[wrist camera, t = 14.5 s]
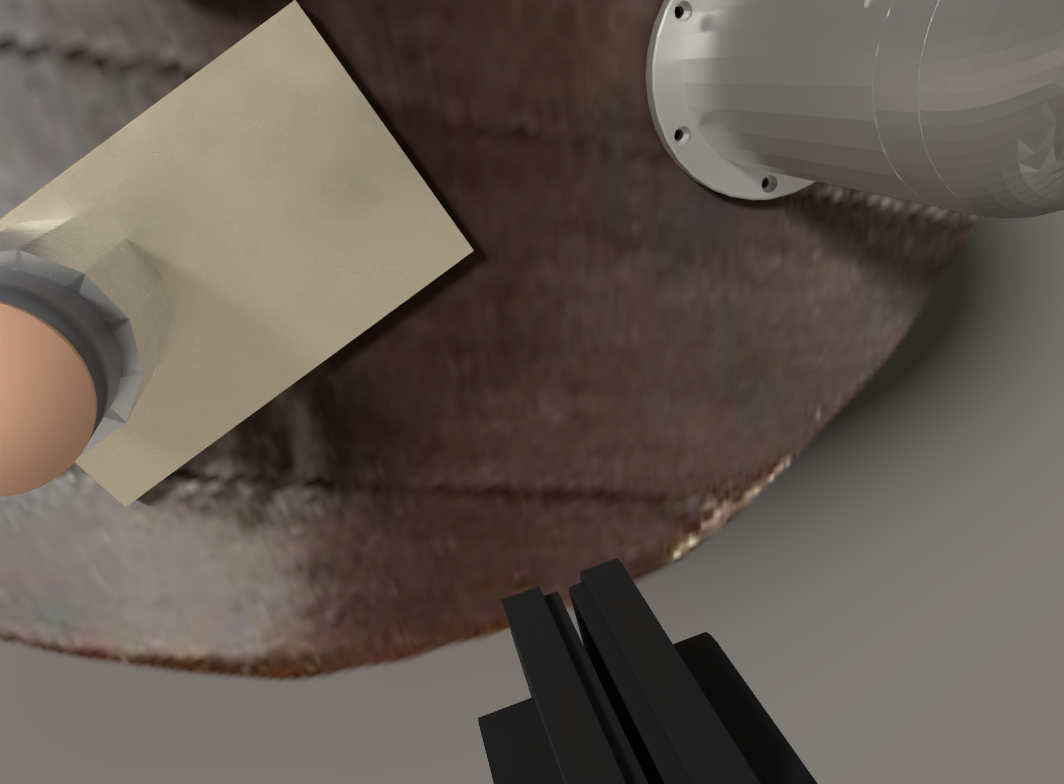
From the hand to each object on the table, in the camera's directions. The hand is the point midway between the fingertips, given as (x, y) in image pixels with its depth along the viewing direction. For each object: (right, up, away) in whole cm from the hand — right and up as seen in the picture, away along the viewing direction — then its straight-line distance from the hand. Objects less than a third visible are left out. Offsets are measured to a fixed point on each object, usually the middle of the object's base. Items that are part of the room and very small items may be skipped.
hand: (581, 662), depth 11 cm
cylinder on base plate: (-16, +9, +27) cm, 32 cm away
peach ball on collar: (-20, +6, +21) cm, 30 cm away
